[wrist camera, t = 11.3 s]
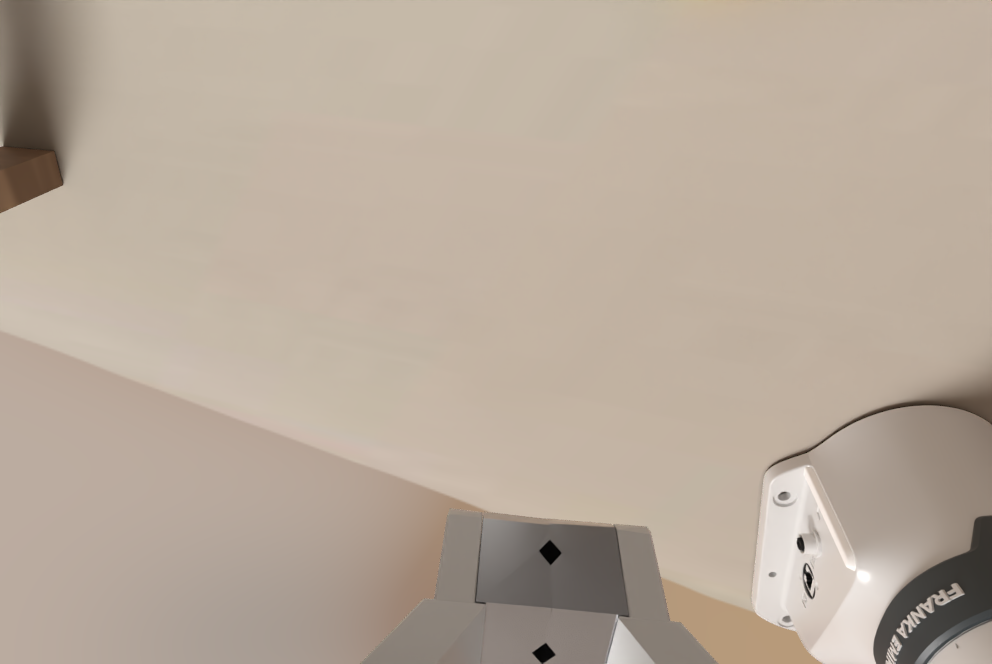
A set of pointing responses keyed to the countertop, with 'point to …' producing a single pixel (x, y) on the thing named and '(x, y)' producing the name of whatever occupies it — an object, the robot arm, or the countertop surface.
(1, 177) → the bridge
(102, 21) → the countertop surface
